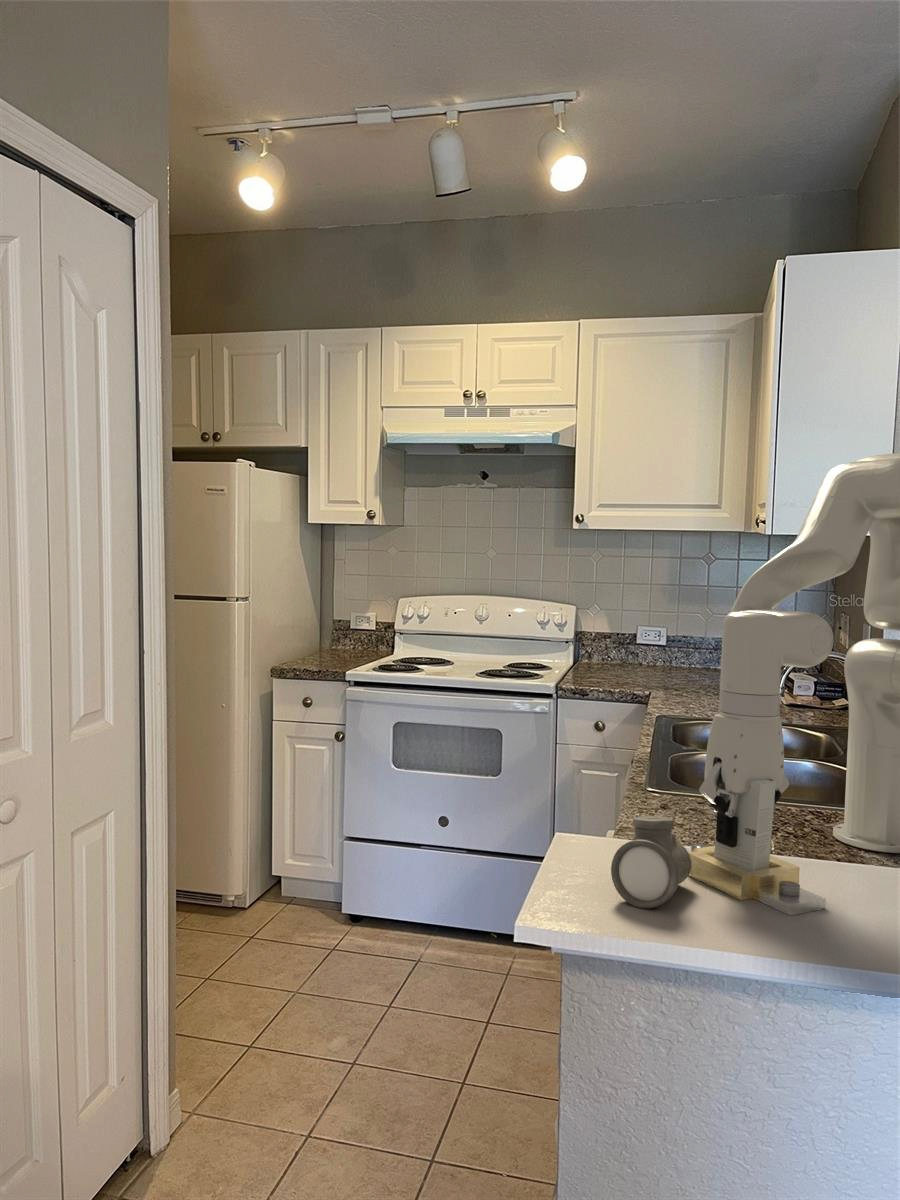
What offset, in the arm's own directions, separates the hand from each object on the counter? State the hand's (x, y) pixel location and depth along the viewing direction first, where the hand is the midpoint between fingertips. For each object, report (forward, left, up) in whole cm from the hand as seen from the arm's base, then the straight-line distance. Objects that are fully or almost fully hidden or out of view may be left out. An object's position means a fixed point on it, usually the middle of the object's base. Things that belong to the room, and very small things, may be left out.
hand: (742, 840), depth 117 cm
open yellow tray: (0, 0, -6) cm, 6 cm away
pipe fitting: (+14, -1, -6) cm, 15 cm away
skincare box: (0, 0, -4) cm, 4 cm away
